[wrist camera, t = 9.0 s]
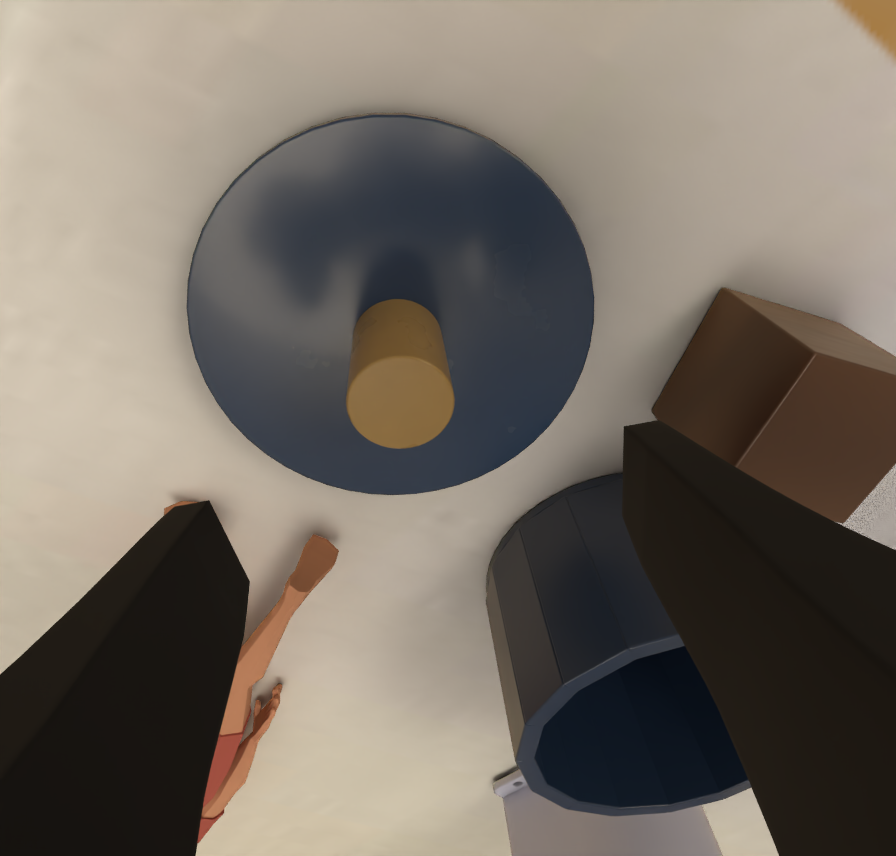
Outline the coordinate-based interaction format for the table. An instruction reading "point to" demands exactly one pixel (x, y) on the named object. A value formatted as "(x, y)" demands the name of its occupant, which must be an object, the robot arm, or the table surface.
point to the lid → (390, 304)
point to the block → (787, 401)
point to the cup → (600, 667)
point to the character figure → (251, 667)
